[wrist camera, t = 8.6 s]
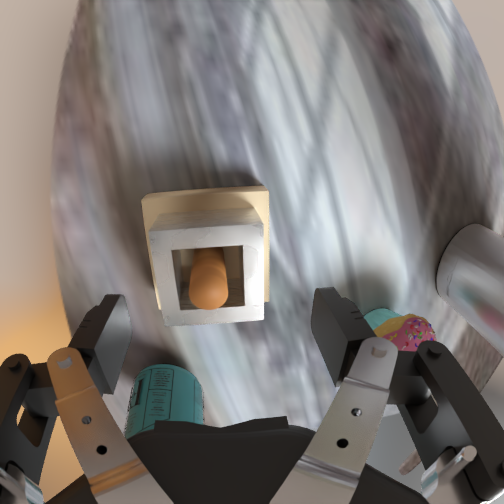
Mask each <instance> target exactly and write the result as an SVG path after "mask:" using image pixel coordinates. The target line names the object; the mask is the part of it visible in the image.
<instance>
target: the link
mask: <svg viewBox="0 0 504 504" xmlns="http://www.w3.org/2000/svg"><path fill="white" fill-rule="evenodd" d="M148 234H149V241H150V247H151V254H152V260H153V266H154V272H155V278H156V283H157V289H158V294H159V299H160V304H161V309H162V314H163V319H164V324H165V326H183V325H201V324H217V323H230V322H243V321H254V320H264V224H263V222H262V220H261V218H260V217H259V215H258V213H257V211H256V209H255V208H254V207H252V208H234V209H217V210H202V211H188V212H175V213H163V214H159V215H158V217H157V218H156V220H155V221H154V223H153V225H152V226H151V228H150V230H149V231H148ZM236 245H238V252H239V276H240V278H237V279H227V286H228V298H227V300H226V302H225V303H224V304H223V305H222V306H221V307H219V308H217V309H213V310H204V309H201V308H198V307H197V306H195V305H194V304H193V303H192V301H191V300H190V297H189V285H190V282H184V276H183V268H182V261H181V252H180V249H192V248H207V247H221V246H236Z"/></svg>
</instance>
